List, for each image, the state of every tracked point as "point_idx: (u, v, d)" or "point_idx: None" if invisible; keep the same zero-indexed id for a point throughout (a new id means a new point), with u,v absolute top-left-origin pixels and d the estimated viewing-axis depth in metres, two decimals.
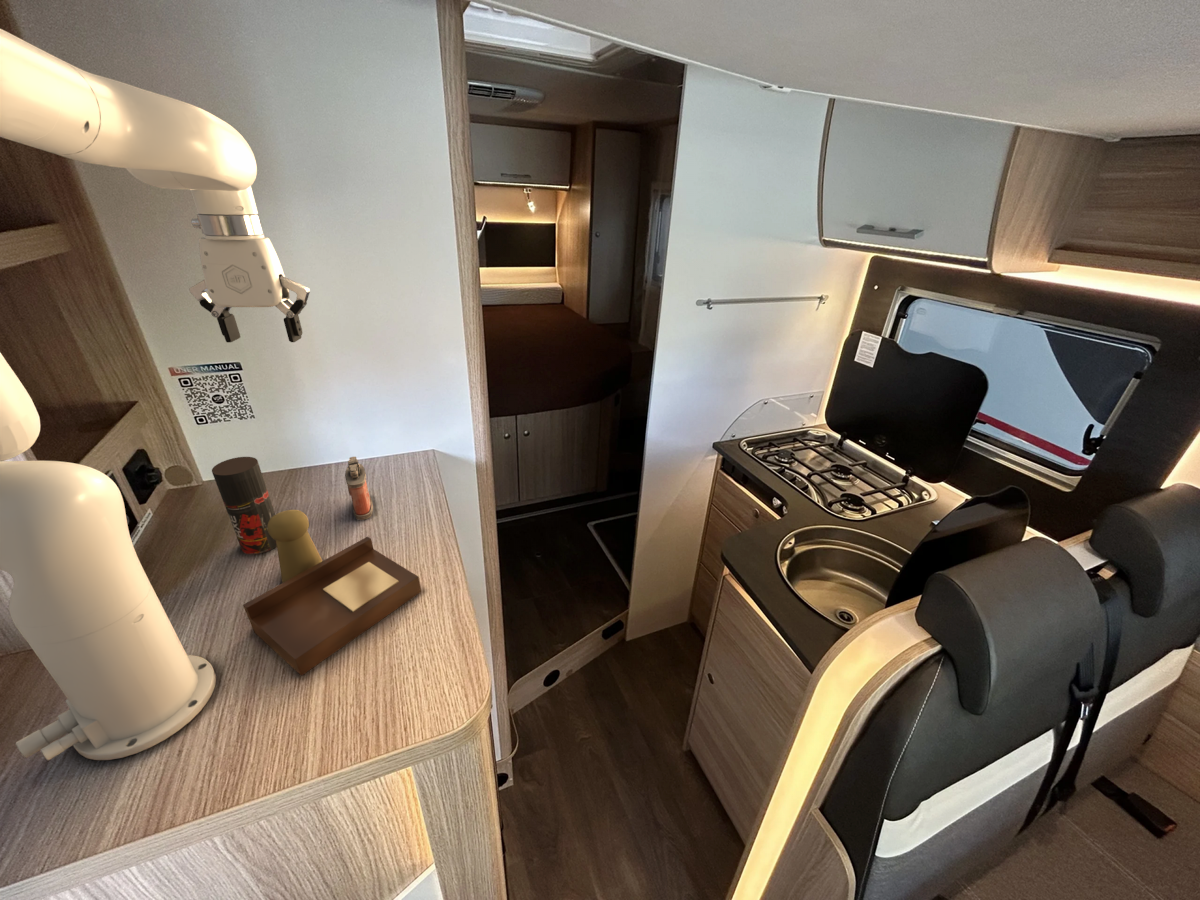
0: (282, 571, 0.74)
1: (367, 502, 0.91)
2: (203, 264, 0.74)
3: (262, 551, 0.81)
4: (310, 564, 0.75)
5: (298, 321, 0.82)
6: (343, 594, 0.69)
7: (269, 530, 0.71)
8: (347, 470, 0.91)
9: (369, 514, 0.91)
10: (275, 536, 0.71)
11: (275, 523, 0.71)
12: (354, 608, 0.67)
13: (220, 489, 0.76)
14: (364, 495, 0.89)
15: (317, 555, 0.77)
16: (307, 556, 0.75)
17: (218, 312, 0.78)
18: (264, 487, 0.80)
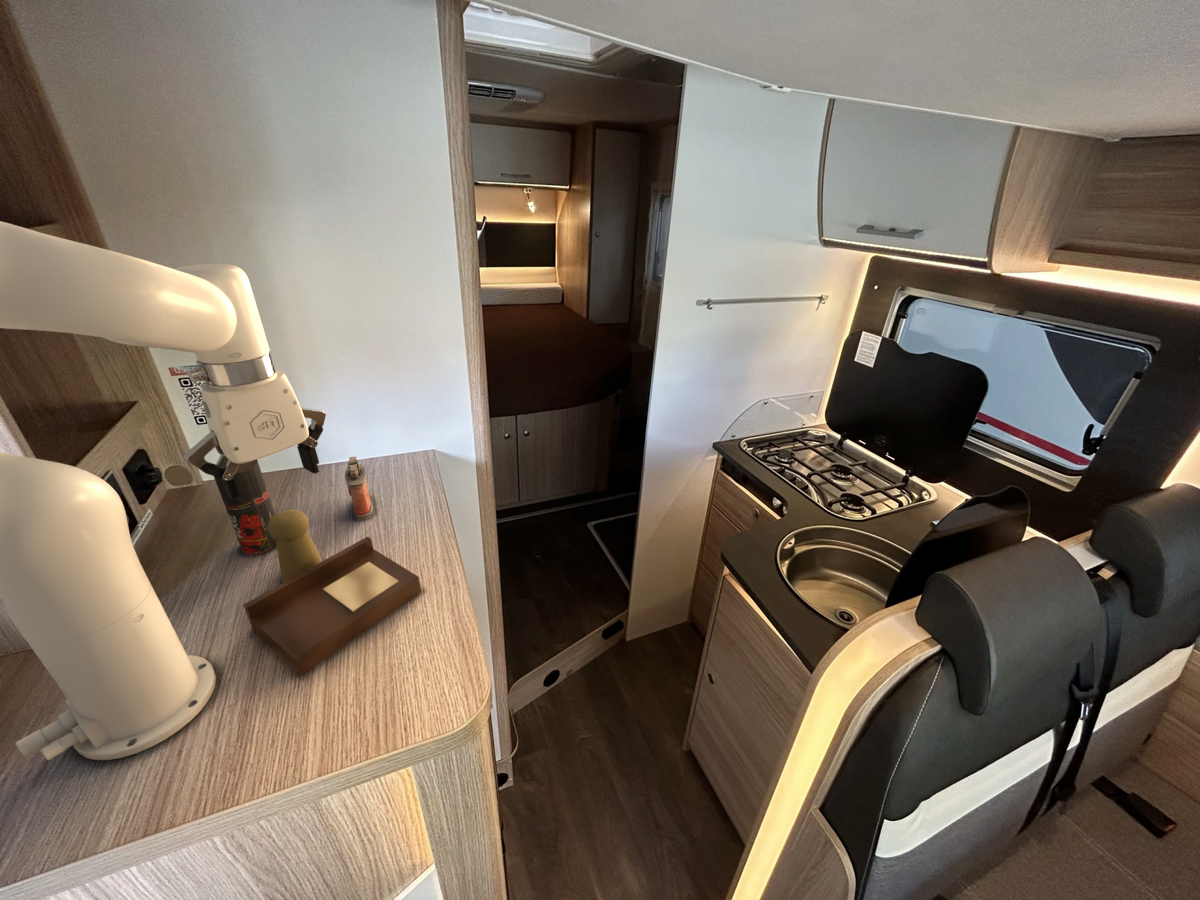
0: (282, 571, 0.74)
1: (367, 502, 0.91)
2: (224, 421, 0.60)
3: (262, 551, 0.81)
4: (310, 564, 0.75)
5: None
6: (343, 594, 0.69)
7: (269, 530, 0.71)
8: (347, 470, 0.91)
9: (369, 514, 0.91)
10: (275, 536, 0.71)
11: (275, 523, 0.71)
12: (354, 608, 0.67)
13: (220, 489, 0.76)
14: (364, 495, 0.89)
15: (317, 555, 0.77)
16: (307, 556, 0.75)
17: (232, 472, 0.64)
18: (264, 487, 0.80)
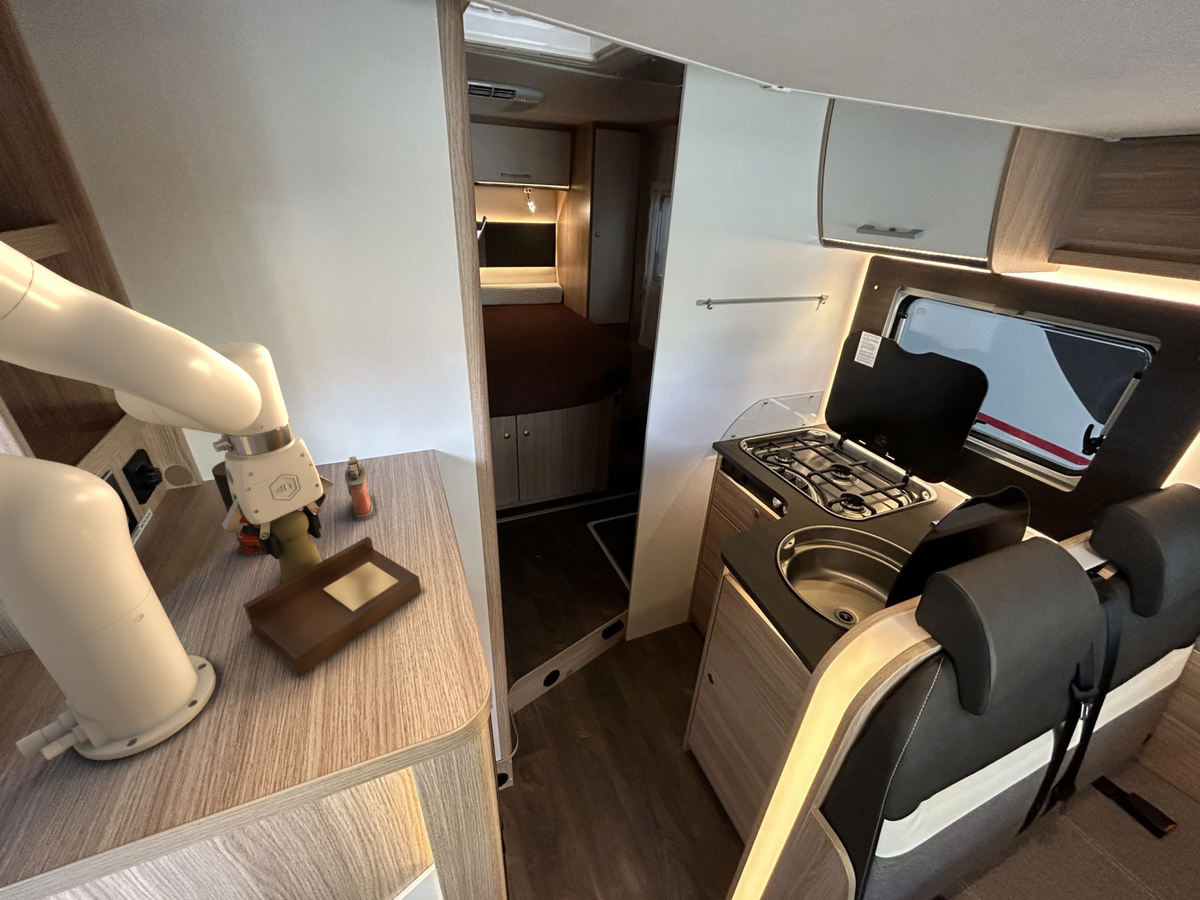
0: (282, 571, 0.74)
1: (367, 502, 0.91)
2: (245, 487, 0.64)
3: (262, 551, 0.81)
4: (310, 564, 0.75)
5: None
6: (343, 594, 0.69)
7: None
8: (347, 470, 0.91)
9: (369, 514, 0.91)
10: (275, 536, 0.71)
11: (275, 523, 0.71)
12: (354, 608, 0.67)
13: (220, 489, 0.76)
14: (364, 495, 0.89)
15: (317, 555, 0.77)
16: (307, 556, 0.75)
17: (266, 531, 0.70)
18: None
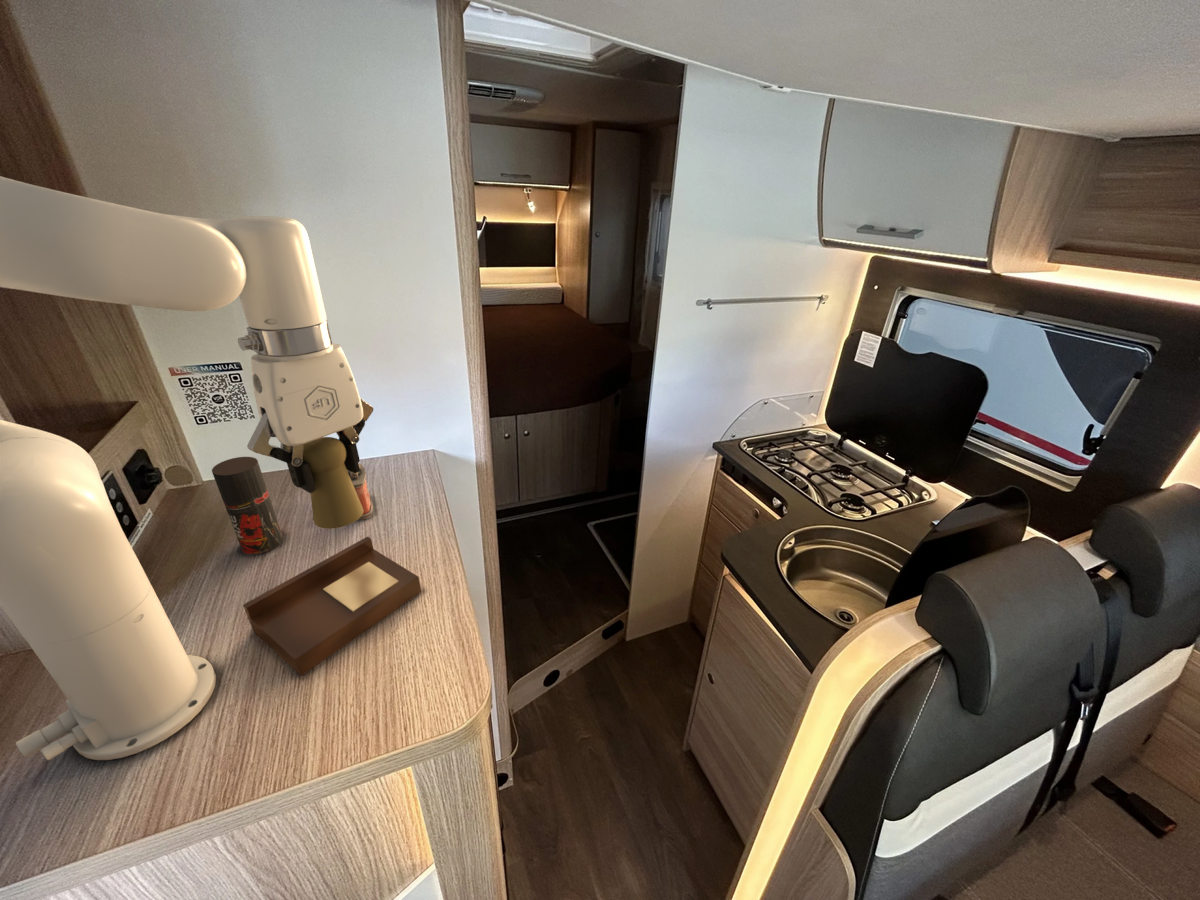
0: (315, 509, 0.63)
1: (367, 502, 0.91)
2: (277, 396, 0.53)
3: (262, 551, 0.81)
4: (348, 502, 0.64)
5: None
6: (343, 594, 0.69)
7: None
8: (347, 470, 0.91)
9: (369, 514, 0.91)
10: (309, 464, 0.60)
11: (309, 449, 0.60)
12: (354, 608, 0.67)
13: (220, 489, 0.76)
14: (364, 495, 0.89)
15: (355, 493, 0.65)
16: (344, 492, 0.63)
17: (299, 457, 0.58)
18: (264, 487, 0.80)
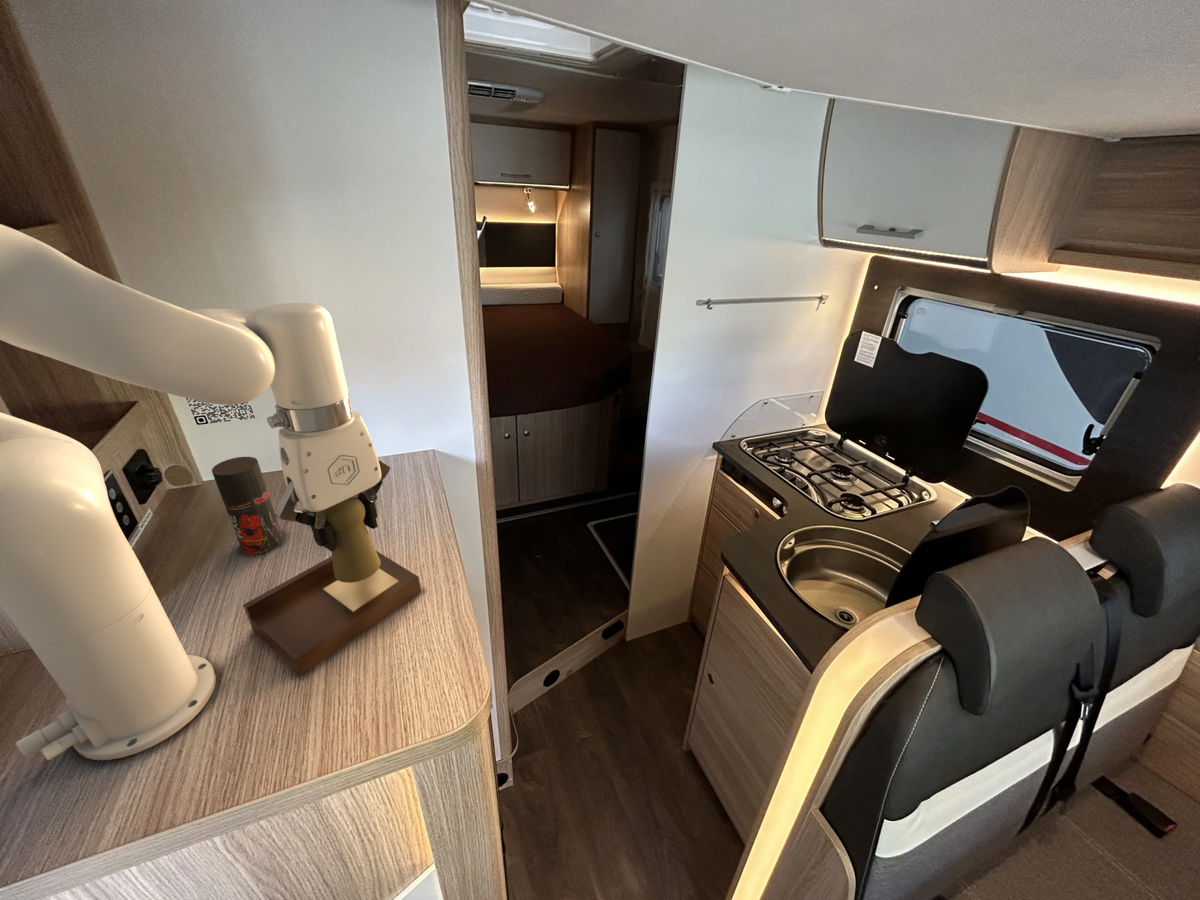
0: (336, 565, 0.67)
1: None
2: (303, 469, 0.57)
3: (262, 551, 0.81)
4: (367, 557, 0.68)
5: None
6: (343, 594, 0.69)
7: None
8: None
9: None
10: None
11: (330, 511, 0.63)
12: (354, 608, 0.67)
13: (220, 489, 0.76)
14: None
15: (373, 547, 0.69)
16: (363, 548, 0.67)
17: (322, 520, 0.62)
18: (264, 487, 0.80)
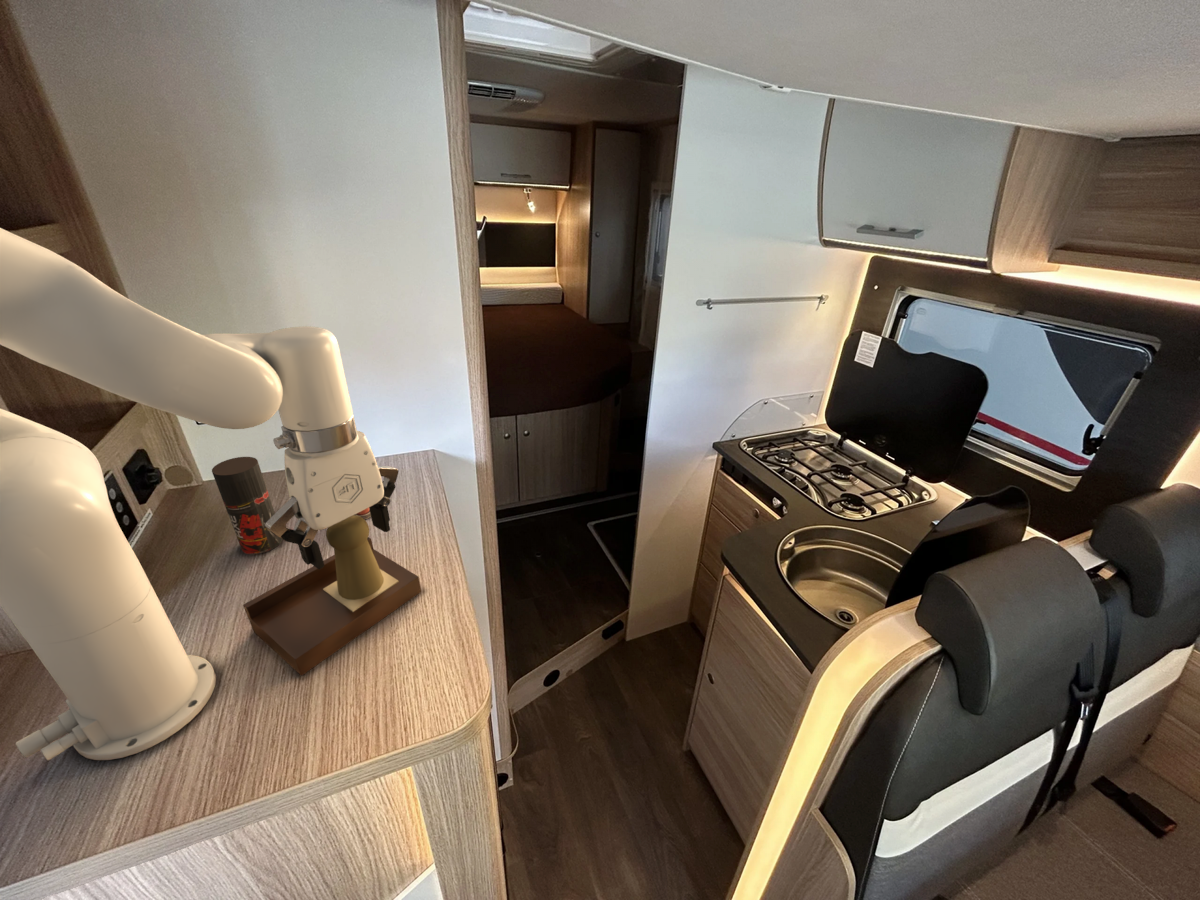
0: (340, 582, 0.68)
1: None
2: (308, 488, 0.58)
3: (262, 551, 0.81)
4: (370, 575, 0.69)
5: None
6: None
7: (329, 538, 0.65)
8: None
9: (369, 514, 0.91)
10: (335, 544, 0.65)
11: (335, 530, 0.65)
12: (354, 608, 0.67)
13: (220, 489, 0.76)
14: None
15: (376, 564, 0.70)
16: (367, 566, 0.68)
17: (311, 538, 0.61)
18: (264, 487, 0.80)
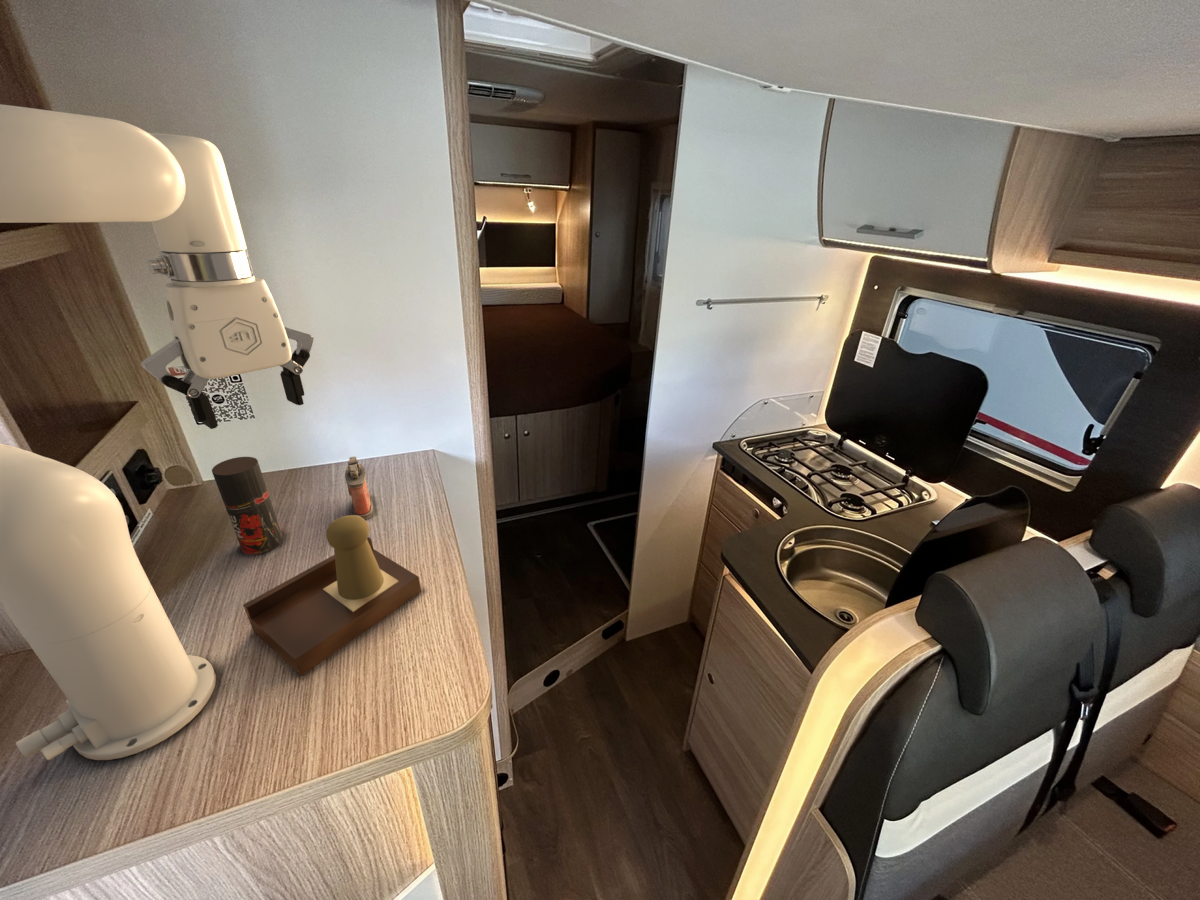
0: (340, 582, 0.68)
1: (367, 502, 0.91)
2: (188, 323, 0.52)
3: (262, 551, 0.81)
4: (370, 575, 0.69)
5: None
6: None
7: (329, 538, 0.65)
8: (347, 470, 0.91)
9: (369, 514, 0.91)
10: (335, 544, 0.65)
11: (335, 530, 0.65)
12: (354, 608, 0.67)
13: (220, 489, 0.76)
14: (364, 495, 0.89)
15: (376, 564, 0.70)
16: (367, 566, 0.68)
17: (198, 389, 0.55)
18: (264, 487, 0.80)
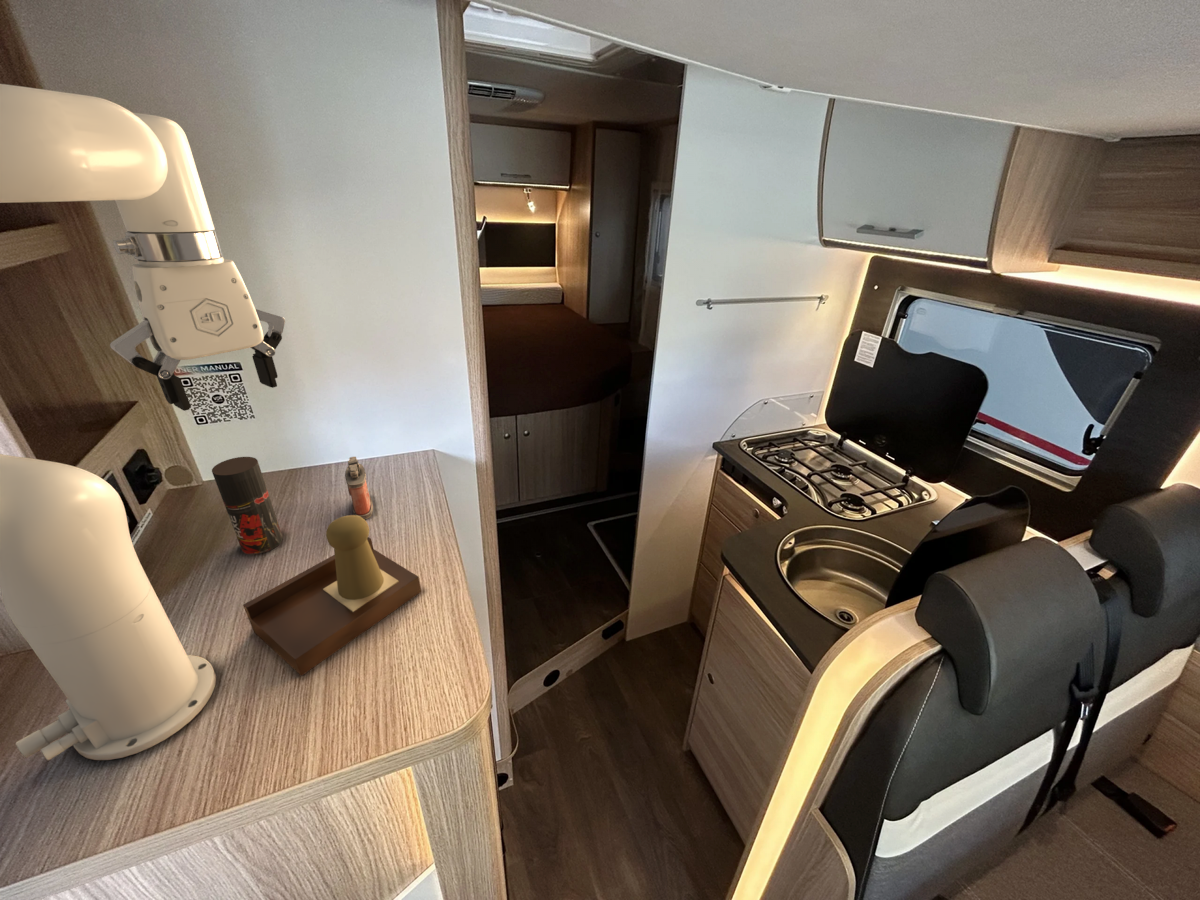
0: (340, 582, 0.68)
1: (367, 502, 0.91)
2: (157, 304, 0.52)
3: (262, 551, 0.81)
4: (370, 575, 0.69)
5: None
6: None
7: (329, 538, 0.65)
8: (347, 470, 0.91)
9: (369, 514, 0.91)
10: (335, 544, 0.65)
11: (335, 530, 0.65)
12: (354, 608, 0.67)
13: (220, 489, 0.76)
14: (364, 495, 0.89)
15: (376, 564, 0.70)
16: (367, 566, 0.68)
17: (170, 370, 0.56)
18: (264, 487, 0.80)
